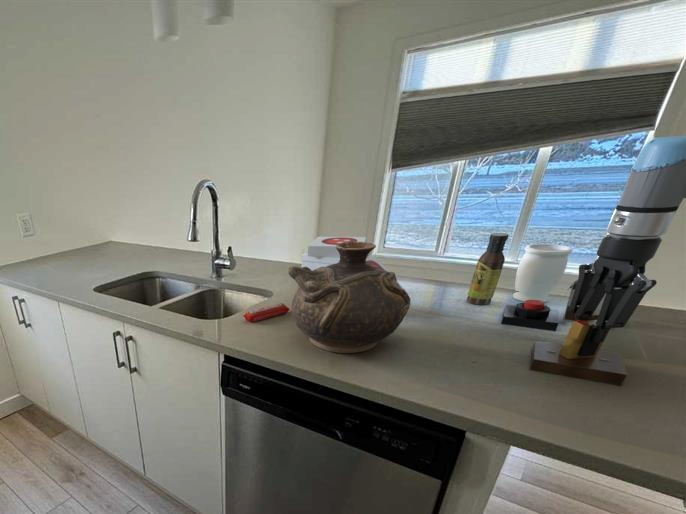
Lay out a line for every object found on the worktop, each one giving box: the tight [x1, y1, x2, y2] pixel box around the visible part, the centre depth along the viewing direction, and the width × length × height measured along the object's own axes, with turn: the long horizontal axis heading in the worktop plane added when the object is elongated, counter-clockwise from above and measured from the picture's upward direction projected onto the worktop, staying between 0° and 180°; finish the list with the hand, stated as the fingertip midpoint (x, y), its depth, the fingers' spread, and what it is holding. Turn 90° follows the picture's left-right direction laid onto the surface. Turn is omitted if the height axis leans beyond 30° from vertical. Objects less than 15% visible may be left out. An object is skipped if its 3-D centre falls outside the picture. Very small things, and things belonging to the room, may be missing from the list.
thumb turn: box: [559, 320, 604, 359], centre depth 83 cm, size 6×2×8 cm, turn 88°
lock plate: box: [529, 340, 628, 387], centre depth 86 cm, size 14×11×3 cm
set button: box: [523, 300, 546, 310], centre depth 105 cm, size 4×4×2 cm
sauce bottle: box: [466, 232, 509, 306], centre depth 117 cm, size 6×6×20 cm
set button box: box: [500, 302, 559, 332], centre depth 107 cm, size 11×10×4 cm
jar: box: [512, 243, 574, 303], centre depth 117 cm, size 11×10×15 cm
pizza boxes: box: [301, 235, 406, 291], centre depth 129 cm, size 19×30×18 cm, turn 41°
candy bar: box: [242, 302, 291, 323], centre depth 125 cm, size 16×4×3 cm, turn 114°
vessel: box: [287, 241, 411, 354], centre depth 101 cm, size 27×28×25 cm
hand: (579, 351), depth 85 cm, fingers closed on thumb turn, 2 cm apart
